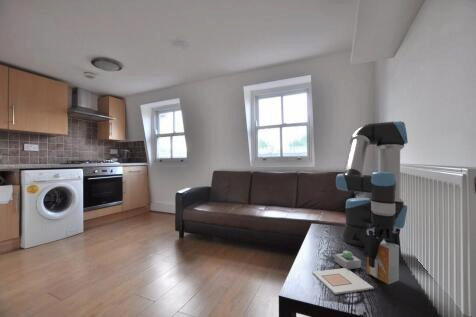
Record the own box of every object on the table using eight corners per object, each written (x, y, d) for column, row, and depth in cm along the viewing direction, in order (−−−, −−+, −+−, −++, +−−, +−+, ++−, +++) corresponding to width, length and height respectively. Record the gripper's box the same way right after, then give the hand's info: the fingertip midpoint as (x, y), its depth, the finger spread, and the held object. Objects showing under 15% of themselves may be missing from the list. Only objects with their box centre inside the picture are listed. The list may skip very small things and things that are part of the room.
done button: (347, 255, 90) (347, 250, 90) (353, 259, 87) (353, 253, 87) (341, 256, 90) (341, 251, 90) (346, 259, 86) (346, 254, 86)
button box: (348, 259, 92) (348, 252, 92) (360, 267, 86) (360, 260, 86) (334, 261, 91) (334, 254, 91) (346, 269, 84) (346, 261, 84)
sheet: (346, 269, 84) (346, 267, 84) (373, 289, 71) (373, 287, 71) (312, 273, 81) (312, 271, 81) (334, 294, 68) (334, 292, 68)
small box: (366, 273, 81) (366, 239, 81) (376, 270, 84) (376, 237, 84) (388, 285, 74) (389, 247, 74) (399, 280, 76) (399, 245, 77)
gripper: (394, 209, 85) (394, 266, 85) (352, 211, 80) (352, 271, 80) (414, 214, 77) (413, 276, 77) (368, 217, 73) (368, 283, 73)
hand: (382, 274), depth 79 cm, fingers closed on small box, 7 cm apart
